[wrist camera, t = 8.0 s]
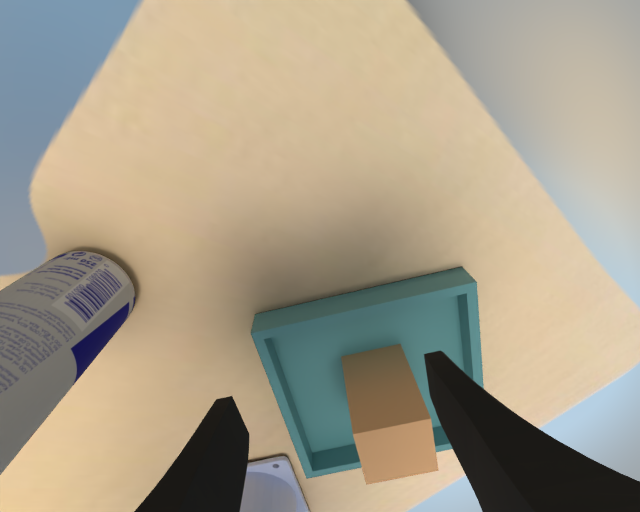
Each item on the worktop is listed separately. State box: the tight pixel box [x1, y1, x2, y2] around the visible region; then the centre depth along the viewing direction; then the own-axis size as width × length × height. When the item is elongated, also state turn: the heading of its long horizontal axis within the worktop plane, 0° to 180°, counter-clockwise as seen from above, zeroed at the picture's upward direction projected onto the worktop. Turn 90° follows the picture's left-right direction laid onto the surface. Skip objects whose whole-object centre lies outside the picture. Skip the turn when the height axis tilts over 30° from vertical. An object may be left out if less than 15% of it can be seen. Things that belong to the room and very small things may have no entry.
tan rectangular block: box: [341, 344, 438, 485], centre depth 21 cm, size 4×4×6 cm
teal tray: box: [251, 267, 484, 478], centre depth 24 cm, size 13×13×2 cm
